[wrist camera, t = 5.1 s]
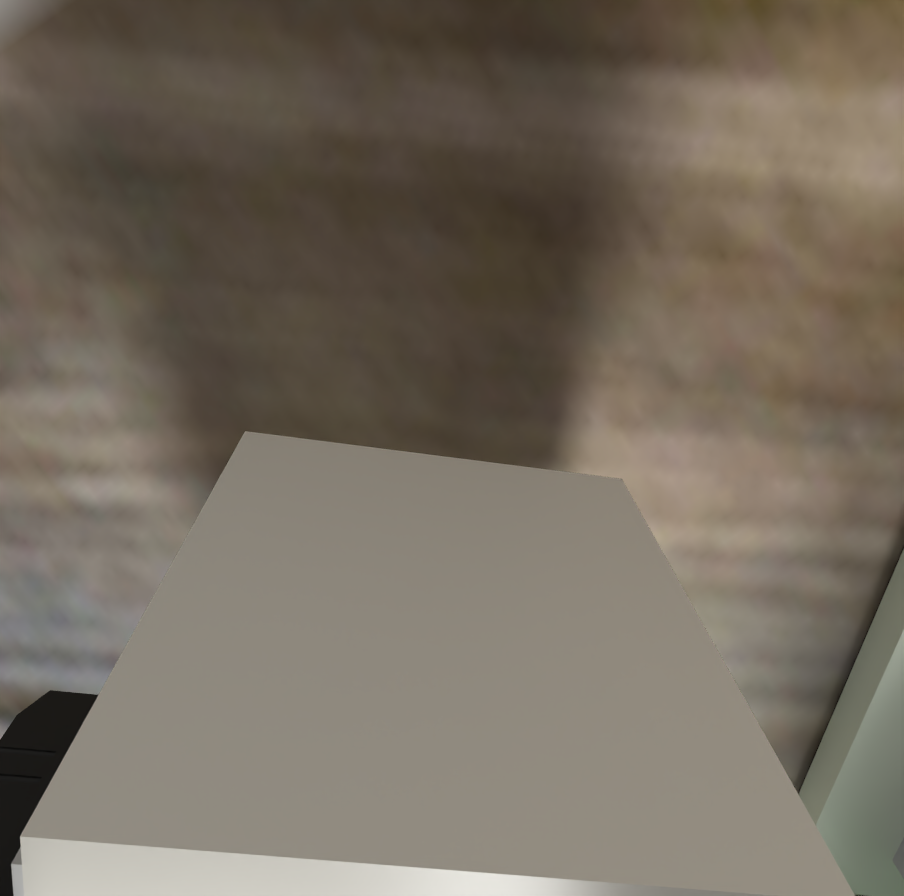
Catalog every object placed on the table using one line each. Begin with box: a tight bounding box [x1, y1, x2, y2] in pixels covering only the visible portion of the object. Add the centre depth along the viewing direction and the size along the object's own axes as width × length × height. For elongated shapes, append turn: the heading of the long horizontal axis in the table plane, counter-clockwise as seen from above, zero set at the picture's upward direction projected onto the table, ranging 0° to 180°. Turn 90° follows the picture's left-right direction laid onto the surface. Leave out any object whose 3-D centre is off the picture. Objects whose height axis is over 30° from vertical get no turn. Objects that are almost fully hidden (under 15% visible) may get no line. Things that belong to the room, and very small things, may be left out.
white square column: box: [20, 431, 855, 896], centre depth 11 cm, size 6×6×8 cm
